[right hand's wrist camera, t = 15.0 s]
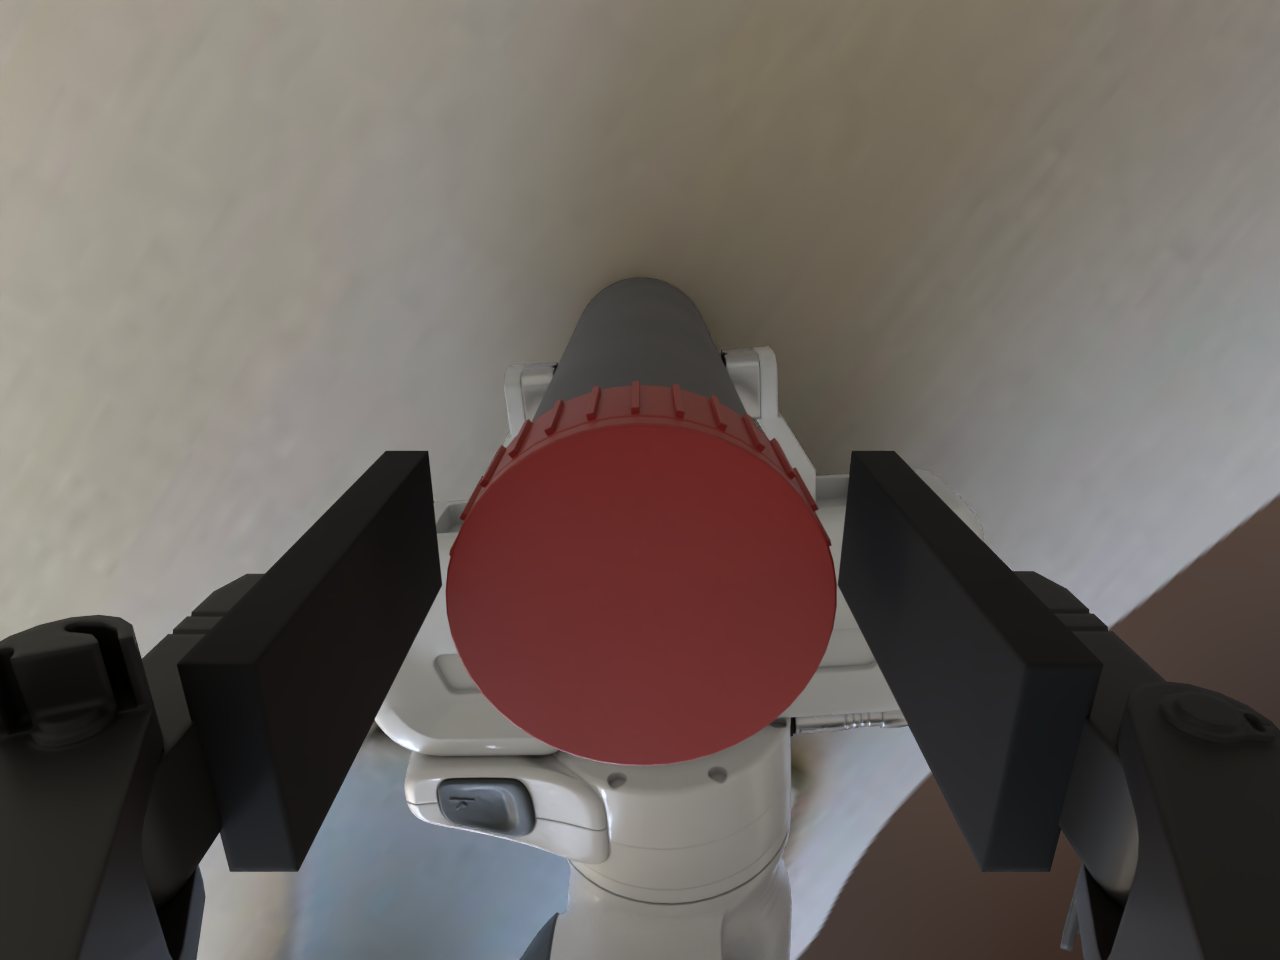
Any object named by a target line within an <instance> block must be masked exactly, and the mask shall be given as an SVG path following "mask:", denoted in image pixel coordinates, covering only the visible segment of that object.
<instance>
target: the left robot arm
mask: <svg viewBox="0 0 1280 960" xmlns="http://www.w3.org/2000/svg"><path fill="white" fill-rule="evenodd" d="M721 359H722V361H723V363H724V365H725V368H726V370H727V372H728V374H729V376H730V378H731V380H732V382H733V385H734V387H735V389H736V391H737V393H738V395H739V397H740V399H741V402H742V404H743V406H744V408H745V410H746V412H747V414H748V415H750V416H751V418H756V420H757V422H758V423H759V425H760V427H761V428H762V430H763V431H764V433H765V434H766V436H767V437H768V439H769V440H770V441H771V440H772V439H773V438H775V439H776V440H777V441H778V442H779V444H780V446H781V448H782V450H783V452H784V454H785V455H786V457H787V459H788V461H789V463H790V465H791V466H792V468H795V467H796V469H797V470H798V472H799V474H800V476H801V478H802V479H803V481H804V483H805V485H806V487H807V488H808V490H809V492H810V494H811V496H812V497H813V499H814V501H815V503H816V505H817V507H818V510H816V511H815V512H816V514H817V516H818V518H819V520H820V521H821V523H822V525H823V527H824V529H825V531H826V533H827V535H828V536H829V538H830V540H831V544H832V546H829V548H830V551H831V554H832V558H833V561H834V567H835V574H836V581H837V608H836V614H835V620H834V626H833V631H832V634H831V637H830V640H829V643H828V647H827V650H826V652H825V654H824V656H823V658H822V661H821V663H820V665H819V667H818V669H817V671H816V672H815V674H814V676H813V677H812V679H811V680H810V682H809V683H808V685H807V686H806V688H805V689H804V690H803V692H802V693H801V694H800V695H799V696H798V697H797V699H796V700H795V701H794V702H793V703H792V704H791V705H790V707H788V708H787V709H786V710H785V711H784V712H783V713H782V714H781V715H780V716H778V717H777V718H776V719H775V720H774V721H773V722H771V723H770V724H769V725H767V726H766V727H764V728H763V729H762V730H760V731H759V732H757V733H756V734H754V735H753V736H751V737H749V738H747V739H745V740H743V741H742V742H740V743H738V744H736V745H734V746H732V747H729V748H727V749H724V750H722V751H719V752H717V753H714V754H711V755H708V756H704V757H701V758H697V759H694V760H690V761H684V762H679V763H673V764H666V765H651V766H633V765H618V764H611V763H604V762H597V761H593V760H589V759H585V758H582V757H578V756H574V755H572V754H569V753H566V752H564V751H561V750H558V749H555V748H553V747H551V746H549V745H547V744H545V743H543V742H541V741H539V740H537V739H535V738H533V737H532V736H530V735H529V734H527V733H526V732H524V731H523V730H521V729H520V728H518V727H517V726H515V725H514V724H513V723H511V722H510V721H509V720H508V719H507V718H506V717H504V716H503V715H502V714H501V713H500V712H498V711H497V710H496V709H495V708H494V706H493V705H492V704H491V703H490V702H489V701H488V700H487V699H486V698H485V697H484V696H483V695H482V693H481V692H480V690H479V689H478V688H477V686H476V685H475V683H474V682H473V681H472V679H471V678H470V676H469V675H468V673H467V671H466V669H465V667H464V665H463V663H462V661H461V660H460V658H459V655H458V653H457V650H456V647H455V644H454V641H453V639H452V636H451V632H450V627H449V622H448V617H447V610H446V592H445V590H446V580H447V569H448V565H449V561H450V557H451V556H449V553H450V549H451V547H452V545H453V543H454V541H455V539H456V538H457V536H458V533H459V531H460V528H461V526H462V524H463V522H464V521H463V520H461V519H460V516H461V514H462V512H463V510H464V508H465V506H466V505H467V503H468V501H469V500H464V501H449V502H435V503H434V511H435V521H436V530H437V540H438V549H439V559H440V568H441V578H442V587H441V589H440V591H439V593H438V595H437V597H436V599H435V601H434V602H433V604H432V606H431V608H430V610H429V612H428V614H427V616H426V618H425V620H424V622H423V624H422V626H421V628H420V630H419V632H418V634H417V636H416V638H415V640H414V642H413V644H412V646H411V648H410V650H409V652H408V654H407V656H406V658H405V660H404V662H403V664H402V666H401V668H400V670H399V672H398V674H397V676H396V678H395V680H394V682H393V684H392V686H391V688H390V690H389V692H388V694H387V696H386V698H385V700H384V702H383V704H382V706H381V708H380V710H379V712H378V714H377V716H376V718H375V721H376V723H377V724H378V725H379V727H380V728H381V729H382V730H383V731H384V733H385V734H387V735H388V736H389V737H390V738H391V739H392V740H393V741H395V742H396V743H398V744H399V745H401V746H403V747H405V748H407V749H409V750H412V752H411V756H410V760H409V765H408V769H407V774H406V778H405V785H404V787H405V795H406V800H407V803H408V806H409V808H410V810H411V812H412V813H413V814H414V815H415V816H416V817H418V818H419V819H421V820H423V821H425V822H428V823H431V824H435V825H439V826H444V827H450V828H455V829H460V830H466V831H471V832H476V833H481V834H486V835H490V836H494V837H499V838H503V839H507V840H511V841H515V842H519V843H522V844H526V845H529V846H532V847H536V848H539V849H542V850H545V851H548V852H550V853H553V854H556V855H558V856H561V857H564V858H566V859H567V861H568V863H569V866H570V870H571V875H570V880H569V889H568V908H567V910H566V911H565V912H564V913H563V914H559V913H556V914H555V915H554V916H553V917H552V918H551V919H550V920H549V921H548V922H547V923H546V924H545V925H544V926H543V928H542V929H541V930H540V931H539V932H538V934H537V935H536V937H535V938H534V939H533V941H532V942H531V944H530V945H529V947H528V948H527V950H526V951H525V953H524V954H523V956H522V957H521V959H520V960H789V958H790V944H791V914H792V902H791V887H790V881H789V877H788V873H787V869H786V866H785V863H784V860H783V858H782V855H783V853H784V850H785V847H786V844H787V840H788V837H789V830H790V823H791V744H790V736H793V734H798V733H815V732H832V731H840V730H844V729H845V730H846V729H851V728H857V727H859V726H860V727H866V726H879V727H881V728H898V727H904V726H908V724H907V722H906V720H905V718H904V716H903V714H902V712H901V710H900V708H899V706H898V704H897V702H896V700H895V698H894V696H893V694H892V692H891V690H890V688H889V686H888V684H887V682H886V680H885V678H884V676H883V674H882V672H881V670H880V668H879V666H878V664H877V662H876V660H875V658H874V656H873V654H872V652H871V650H870V648H869V646H868V644H867V642H866V640H865V638H864V636H863V634H862V632H861V630H860V628H859V626H858V624H857V622H856V620H855V618H854V616H853V614H852V612H851V610H850V608H849V606H848V604H847V602H846V601H845V599H844V597H843V595H842V593H841V591H840V589H839V587H838V578H839V568H840V559H841V549H842V540H843V530H844V521H845V511H846V502H847V492H848V483H849V474H839V475H825V476H816V470H815V468H814V466H813V465H812V463H811V461H810V460H809V458H808V456H807V455H806V453H805V452H804V450H803V448H802V447H801V445H800V444H799V442H798V440H797V439H796V437H795V436H794V434H793V432H792V431H791V429H790V428H789V426H788V425H787V423H786V421H785V420H784V418H783V417H782V415H781V413H780V412H779V410H778V382H777V362H776V356H775V353H774V352H773V351H772V349H771V348H770V347H769V346H768V347H756V348H743V349H732V350H721ZM557 367H558V363H545V364H528V365H526V364H523V365H514V366H510V367H509V368H508V370H507V371H506V372H505V375H504V392H505V399H506V406H507V413H508V420H509V427H510V431H509V433H508V435H507V436H506V439H505V441H504V443H503V446H504V447H505V448H507V446H508V445H509V444H510V443H511V441H512V440H513V439H514V438H515V437H516V436H517V435H518V433H519V431H520V429H521V427H522V425H523V423H524V422H525V421H526V420H528V419H529V420H530V421H531V422H532V420H533V418H534V416H535V413H536V411H537V409H538V407H539V405H540V403H541V401H542V399H543V396H544V394H545V392H546V390H547V388H548V386H549V384H550V382H551V379H552V377H553V375H554V373H555V371H556V369H557ZM912 470H913V471H914V472H915V473H916V474H917V475H918V476H919V477H920V478H921V479H922V480H923V481H924V482H925V483H926V484H927V485H928V486H929V487H930V488H931V489H932V490H933V491H934V492H935V493H936V494H937V495H938V496H939V497H940V498H941V499H942V500H943V501H944V502H945V503H946V504H947V505H948V506H949V507H950V508H951V509H952V510H953V511H954V512H955V513H956V514H957V515H958V517H959V518H960V519H961V520H962V521H963V522H964V523H965V524H966V525H967V526H968V527H969V528H970V529H971V530H972V531H973V532H974V533H975V534H976V535H977V536H978V537H979V538H980V539H981V540H982V541H983V530H982V526H981V524H980V522H979V520H978V518H977V516H976V515H975V514H974V512H973V511H972V509H971V508H970V507H969V506H968V505H967V504H966V502H965V501H964V500H963V499H962V498H961V497H960V496H959V495H958V494H957V493H956V492H955V491H954V490H953V489H952V488H951V487H950V486H948V485H947V484H946V483H945V482H944V481H942V480H941V479H940V478H939V477H938V476H936V475H935V474H934V473H932V472H930V471H927V470H923V469H912Z"/></svg>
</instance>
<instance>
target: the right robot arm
mask: <svg viewBox="0 0 1280 960" xmlns="http://www.w3.org/2000/svg"><path fill="white" fill-rule="evenodd" d="M441 587H442V578H441V568H440V559H439V549H438V540H437V530H436V521H435V511H434V502H433V492H432V483H431V473H430V464H429V455H428V451H385V452H384V453H383V454H382V455H381V456H380V457H379V459H378V460H377V461H376V462H375V463H374V464H373V465H372V466H371V467H370V468H369V469H368V470H367V471H366V472H365V473H364V474H363V475H362V476H361V477H360V478H359V479H358V480H357V481H356V482H355V483H354V484H353V485H352V486H351V487H350V488H349V489H348V490H347V491H346V492H345V493H344V494H343V495H342V496H341V497H340V498H339V499H338V500H337V501H336V502H335V503H334V504H333V505H332V506H331V507H330V508H329V509H328V510H327V511H326V512H325V513H324V514H323V515H322V517H321V518H320V519H319V520H318V521H317V522H316V523H315V524H314V525H313V526H312V527H311V528H310V529H309V530H308V531H307V532H306V533H305V534H304V535H303V536H302V537H301V538H300V539H299V540H298V541H297V542H296V543H295V544H294V545H293V546H292V547H291V548H290V549H289V550H288V551H287V552H286V553H285V554H284V555H283V556H282V557H281V558H280V559H279V560H278V561H277V562H276V563H275V564H274V565H273V566H272V567H271V568H270V569H269V570H268V571H267V572H266V573H265V574H246V575H244V576H242V577H240V578H238V579H236V580H235V581H233V582H231V583H229V584H227V585H225V586H223V587H221V588H220V589H218V590H216V591H214V592H213V593H212V594H211V595H210V596H209V597H207V598H206V599H205V600H204V601H203V602H202V603H201V604H200V605H199V606H198V607H197V608H196V609H195V610H194V611H193V612H192V615H191V617H186V618H185V619H184V620H183V621H182V622H181V623H180V624H179V625H178V626H176V627H175V628H174V629H173V634H168V635H167V636H166V637H165V638H164V639H163V640H162V641H160V642H159V643H158V644H157V645H156V646H155V647H154V648H153V649H152V650H151V651H150V652H149V653H148V654H147V655H146V656H144V657H143V658H142V659H141V655H140V651H139V648H138V644H137V641H136V637H135V633H134V630H133V626H132V625H131V624H130V623H128V622H127V621H125V620H123V619H122V618H120V617H112V616H103V615H93V616H82V617H71V618H67V619H62V620H58V621H54V622H50V623H46V624H42V625H38V626H36V627H33V628H30V629H28V630H25V631H22V632H20V633H17V634H14V635H12V636H9V637H7V638H6V639H4V640H2V641H0V960H196V958H197V952H198V945H199V938H200V931H201V924H202V917H203V910H204V903H205V891H204V884H203V879H202V876H201V872H200V868H199V865H198V864H199V863H200V861H201V860H202V858H203V857H204V855H205V854H206V852H207V851H208V849H209V848H210V846H211V845H212V843H213V842H214V840H215V838H216V837H217V835H218V834H219V832H220V835H221V839H222V843H223V846H224V850H225V854H226V858H227V862H228V866H229V870H230V872H298V871H299V869H300V867H301V865H302V863H303V861H304V859H305V857H306V855H307V853H308V851H309V849H310V847H311V845H312V843H313V841H314V839H315V837H316V835H317V833H318V831H319V829H320V827H321V825H322V823H323V821H324V819H325V817H326V815H327V813H328V811H329V809H330V807H331V805H332V803H333V801H334V799H335V797H336V795H337V793H338V791H339V789H340V787H341V785H342V783H343V781H344V779H345V777H346V775H347V773H348V771H349V769H350V767H351V765H352V763H353V761H354V759H355V757H356V755H357V753H358V751H359V749H360V747H361V745H362V743H363V741H364V740H365V738H366V736H367V734H368V732H369V730H370V728H371V726H372V724H373V722H374V720H375V718H376V716H377V714H378V712H379V710H380V708H381V706H382V704H383V702H384V700H385V698H386V696H387V694H388V692H389V690H390V688H391V686H392V684H393V682H394V680H395V678H396V676H397V674H398V672H399V670H400V668H401V666H402V664H403V662H404V660H405V658H406V656H407V654H408V652H409V650H410V648H411V646H412V644H413V642H414V640H415V638H416V636H417V634H418V632H419V630H420V628H421V626H422V624H423V622H424V620H425V618H426V616H427V614H428V612H429V610H430V608H431V606H432V604H433V602H434V601H435V599H436V597H437V595H438V593H439V591H440V589H441ZM838 587H839V589H840V591H841V593H842V595H843V597H844V599H845V601H846V602H847V604H848V606H849V608H850V610H851V612H852V614H853V616H854V618H855V620H856V622H857V624H858V626H859V628H860V630H861V632H862V634H863V636H864V638H865V640H866V642H867V644H868V646H869V648H870V650H871V652H872V654H873V656H874V658H875V660H876V662H877V664H878V666H879V668H880V670H881V672H882V674H883V676H884V678H885V680H886V682H887V684H888V686H889V688H890V690H891V692H892V694H893V696H894V698H895V700H896V702H897V704H898V706H899V708H900V710H901V712H902V714H903V716H904V718H905V720H906V722H907V724H908V726H909V728H910V730H911V732H912V734H913V736H914V738H915V740H916V742H917V743H918V745H919V747H920V749H921V751H922V753H923V755H924V757H925V759H926V761H927V763H928V765H929V767H930V769H931V771H932V773H933V775H934V777H935V779H936V781H937V783H938V785H939V787H940V789H941V791H942V793H943V795H944V797H945V799H946V801H947V803H948V805H949V807H950V809H951V811H952V813H953V815H954V817H955V819H956V821H957V823H958V825H959V827H960V829H961V831H962V833H963V835H964V837H965V839H966V841H967V843H968V845H969V847H970V849H971V851H972V853H973V855H974V857H975V859H976V861H977V863H978V865H979V866H980V869H981V871H982V872H1050V870H1051V866H1052V862H1053V858H1054V854H1055V850H1056V846H1057V843H1058V838H1059V835H1060V831H1061V830H1062V831H1063V833H1064V834H1065V836H1066V837H1067V839H1068V840H1069V842H1070V843H1071V845H1072V846H1073V848H1074V850H1075V851H1076V852H1077V854H1078V856H1079V857H1080V858H1081V860H1082V865H1081V868H1080V872H1079V876H1078V879H1077V883H1076V886H1075V890H1074V894H1073V897H1072V901H1071V905H1070V908H1069V912H1068V916H1067V919H1066V923H1065V926H1064V930H1063V935H1062V942H1061V948H1063V949H1066V950H1069V951H1072V950H1073V946H1074V943H1075V940H1076V936H1077V934H1078V933H1080V935H1081V942H1082V949H1083V956H1084V960H1280V730H1279V729H1278V728H1277V727H1276V726H1275V725H1274V724H1273V722H1272V721H1270V720H1269V719H1267V718H1266V717H1264V716H1263V715H1261V714H1260V713H1258V712H1257V711H1255V710H1254V709H1252V708H1251V707H1249V706H1248V705H1246V704H1243V703H1241V702H1239V701H1237V700H1234V699H1232V698H1230V697H1228V696H1225V695H1223V694H1221V693H1219V692H1215V691H1212V690H1208V689H1205V688H1201V687H1198V686H1194V685H1190V684H1184V683H1174V682H1166V681H1165V680H1164V679H1163V678H1162V677H1161V676H1160V675H1159V674H1158V673H1157V672H1156V671H1155V670H1154V669H1152V668H1151V667H1150V666H1149V665H1148V664H1147V663H1146V662H1145V661H1144V660H1143V659H1142V658H1141V657H1140V656H1138V655H1137V654H1136V653H1135V652H1134V651H1133V650H1132V649H1131V648H1130V647H1129V646H1128V645H1127V644H1126V643H1124V642H1123V641H1122V640H1121V639H1120V638H1119V637H1118V636H1117V635H1116V634H1115V633H1114V632H1112V631H1108V627H1107V626H1106V625H1105V624H1104V623H1103V622H1102V621H1101V620H1100V619H1099V618H1098V617H1096V616H1095V615H1094V614H1089V609H1088V608H1087V607H1086V606H1085V605H1084V604H1083V603H1081V602H1080V601H1079V600H1078V599H1077V598H1076V597H1075V596H1074V595H1073V594H1072V593H1071V592H1070V591H1069V590H1067V589H1066V588H1064V587H1062V586H1060V585H1058V584H1057V583H1055V582H1053V581H1051V580H1049V579H1047V578H1045V577H1043V576H1041V575H1039V574H1038V573H1036V572H1034V571H1012V570H1011V569H1010V568H1009V567H1008V566H1007V565H1006V564H1005V563H1004V562H1003V561H1002V560H1001V559H1000V558H999V557H998V556H997V555H996V554H995V553H994V552H993V551H992V550H991V549H990V548H989V547H988V546H987V545H986V544H985V543H984V542H983V541H982V540H981V539H980V538H979V537H978V536H977V535H976V534H975V533H974V532H973V531H972V530H971V529H970V528H969V527H968V526H967V525H966V524H965V523H964V522H963V521H962V520H961V519H960V518H959V517H958V515H957V514H956V513H955V512H954V511H953V510H952V509H951V508H950V507H949V506H948V505H947V504H946V503H945V502H944V501H943V500H942V499H941V498H940V497H939V496H938V495H937V494H936V493H935V492H934V491H933V490H932V489H931V488H930V487H929V486H928V485H927V484H926V483H925V482H924V481H923V480H922V479H921V478H920V477H919V476H918V475H917V474H916V473H915V472H914V471H913V470H912V469H911V468H910V467H909V466H908V465H907V464H906V463H905V462H904V461H903V460H902V459H901V458H900V456H899V455H898V454H897V453H896V452H895V451H852V454H851V464H850V473H849V483H848V492H847V502H846V511H845V521H844V530H843V540H842V549H841V559H840V568H839V578H838Z"/></svg>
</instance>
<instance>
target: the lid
mask: <svg viewBox="0 0 1280 960" xmlns="http://www.w3.org/2000/svg"><path fill="white" fill-rule="evenodd" d="M816 510H818V507H817V505H816V503H815V501H814V499H813V497H812V496H811V494H810V492H809V490H808V488H807V487H806V485H805V483H804V481H803V479H802V478H801V476H800V474H799V472H798V470H797V469H796V467H795V468H792V466H791V465H790V463H789V461H788V459H787V457H786V455H785V454H784V452H783V450H782V448H781V446H780V444H779V442H778V441H777V440H776V439H775V438H773V439H772V440H771V441H770V440H769V439H768V438H767V437H766V435H765V434H764V433H763V432H762V431H760V430H759V429H758V428H757V427H756V426H755V424H754V422H753V420H752V418H751V416H750V415H748V414H747V413H745V414H744V416H741V415H740V414H738V413H737V412H735V411H733V410H732V409H730V408H729V407H727V406H725V405H723V404H720V403H719V400H718V397H716V396H714V395H711V396H710V398H707V397H705V396H701V395H698V394H695V393H692V392H689V391H685V390H680V386H679V385H678V384H672V388H669V387H663V386H646V385H639V381H632V386H621V387H612V388H608V389H603V390H600V386H596V387H593V388H592V392H590V393H587V394H584V395H581V396H579V397H576V398H573V399H570V400H568V401H566V402H563V400H562V399H560V400H558V401H556V402H555V405H554V407H553V408H552V409H550V410H549V411H547V412H546V413H544V414H543V415H541V416H540V417H539V418H537V419H536V420H534V421H533V422H531V421H530V420H529V419H528V420H526V421H525V422H524V423H523V425H522V427H521V429H520V431H519V433H518V435H517V436H516V437H515V438H514V439H513V440H512V441H511V443H510V444H509V445H508V446H507V448H505V447H504V446H502V445H501V447H500V448H499V449H498V451H497V453H496V455H495V456H494V458H493V460H492V462H491V464H490V465H489V467H488V469H487V471H486V473H485V475H484V476H482V478H481V479H480V481H479V483H478V485H477V487H476V488H475V490H474V492H473V494H472V496H471V497H470V499H469V501H468V503H467V505H466V506H465V508H464V510H463V512H462V514H461V516H460V519H461V520H463V521H464V522H463V524H462V526H461V528H460V531H459V533H458V536H457V538H456V539H455V541H454V543H453V545H452V547H451V549H450V553H449V556H451V557H450V561H449V565H448V569H447V580H446V590H445V592H446V610H447V617H448V622H449V627H450V632H451V636H452V639H453V641H454V644H455V647H456V650H457V653H458V655H459V658H460V660H461V661H462V663H463V665H464V667H465V669H466V671H467V673H468V675H469V676H470V678H471V679H472V681H473V682H474V683H475V685H476V686H477V688H478V689H479V690H480V692H481V693H482V695H483V696H484V697H485V698H486V699H487V700H488V701H489V702H490V703H491V704H492V705H493V706H494V708H495V709H496V710H497V711H498V712H500V713H501V714H502V715H503V716H504V717H506V718H507V719H508V720H509V721H510V722H511V723H513V724H514V725H515V726H517V727H518V728H520V729H521V730H523V731H524V732H526V733H527V734H529V735H530V736H532V737H533V738H535V739H537V740H539V741H541V742H543V743H545V744H547V745H549V746H551V747H553V748H555V749H558V750H561V751H564V752H566V753H569V754H572V755H574V756H578V757H582V758H585V759H589V760H593V761H597V762H604V763H611V764H618V765H633V766H651V765H666V764H673V763H679V762H684V761H690V760H694V759H697V758H701V757H704V756H708V755H711V754H714V753H717V752H719V751H722V750H724V749H727V748H729V747H732V746H734V745H736V744H738V743H740V742H742V741H743V740H745V739H747V738H749V737H751V736H753V735H754V734H756V733H757V732H759V731H760V730H762V729H763V728H764V727H766V726H767V725H769V724H770V723H771V722H773V721H774V720H775V719H776V718H777V717H778V716H780V715H781V714H782V713H783V712H784V711H785V710H786V709H787V708H788V707H790V705H791V704H792V703H793V702H794V701H795V700H796V699H797V697H798V696H799V695H800V694H801V693H802V692H803V690H804V689H805V688H806V686H807V685H808V683H809V682H810V680H811V679H812V677H813V676H814V674H815V672H816V671H817V669H818V667H819V665H820V663H821V661H822V658H823V656H824V654H825V652H826V650H827V647H828V643H829V640H830V637H831V634H832V631H833V626H834V620H835V614H836V608H837V581H836V574H835V567H834V561H833V558H832V554H831V551H830V548H829V546H832V544H831V540H830V538H829V536H828V535H827V533H826V531H825V529H824V527H823V525H822V523H821V521H820V520H819V518H818V516H817V514H816V512H815V511H816Z"/></svg>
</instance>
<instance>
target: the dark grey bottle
mask: <svg viewBox="0 0 1280 960" xmlns="http://www.w3.org/2000/svg"><path fill="white" fill-rule="evenodd" d="M632 381H639V385H646V386H663V387H669V388H672V384H678V385H679V386H680V390H685V391H689V392H692V393H695V394H698V395H701V396H705V397H707V398H710V396H711V395H714V396H716V397H718V400H719V403H720V404H723V405H725V406H727V407H729V408H730V409H732V410H733V411H735V412H737V413H738V414H740V415H741V416H744V414H745V413H747V412H746V410H745V408H744V406H743V404H742V402H741V399H740V397H739V395H738V393H737V391H736V389H735V387H734V385H733V382H732V380H731V378H730V376H729V374H728V372H727V370H726V368H725V365H724V363H723V361H722V359H721V357H720V355H719V353H718V351H717V348H716V346H715V344H714V342H713V340H712V338H711V336H710V333H709V331H708V329H707V327H706V325H705V323H704V321H703V319H702V317H701V314H700V312H699V311H698V309H697V307H696V306H695V304H694V303H693V302H692V301H691V300H690V299H689V297H688V296H686V295H685V294H684V293H683V292H682V291H680V290H679V289H677V288H676V287H674V286H672V285H670V284H668V283H666V282H663V281H660V280H657V279H651V278H631V279H626V280H622V281H620V282H617V283H614V284H612V285H610V286H609V287H607V288H605V289H604V290H602V291H601V292H600V293H598V294H597V295H596V296H595V297H594V298H593V299H592V301H591V302H590V303H589V304H588V305H587V307H586V309H585V310H584V312H583V314H582V316H581V318H580V320H579V322H578V324H577V326H576V329H575V331H574V333H573V335H572V337H571V339H570V341H569V343H568V346H567V348H566V350H565V352H564V354H563V356H562V358H561V360H560V363H559V365H558V367H557V369H556V371H555V373H554V375H553V377H552V379H551V382H550V384H549V386H548V388H547V390H546V392H545V394H544V396H543V399H542V401H541V403H540V405H539V407H538V409H537V411H536V413H535V416H534V418H533V420H532V422H533V421H534V420H536V419H537V418H539V417H540V416H541V415H543V414H544V413H546V412H547V411H549V410H550V409H552V408H553V407H554V405H555V402H556V401H558V400H560V399H562V400H563V402H566V401H568V400H570V399H573V398H576V397H579V396H581V395H584V394H587V393H590V392H592V388H593V387H596V386H600V390H603V389H608V388H612V387H621V386H632Z"/></svg>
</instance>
